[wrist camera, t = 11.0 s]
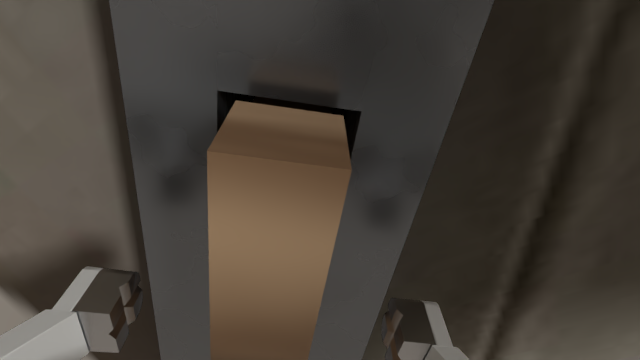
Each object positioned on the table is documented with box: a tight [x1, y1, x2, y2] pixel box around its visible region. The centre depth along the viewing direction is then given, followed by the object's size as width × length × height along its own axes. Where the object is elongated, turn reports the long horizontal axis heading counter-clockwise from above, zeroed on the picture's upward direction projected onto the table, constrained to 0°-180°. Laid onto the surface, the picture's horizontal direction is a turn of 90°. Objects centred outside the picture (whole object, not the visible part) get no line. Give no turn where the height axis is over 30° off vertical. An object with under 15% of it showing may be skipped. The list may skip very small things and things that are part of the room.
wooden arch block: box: [207, 96, 352, 360], centre depth 14 cm, size 12×3×7 cm, turn 171°
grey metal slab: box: [109, 0, 494, 360], centre depth 15 cm, size 30×10×3 cm, turn 171°
